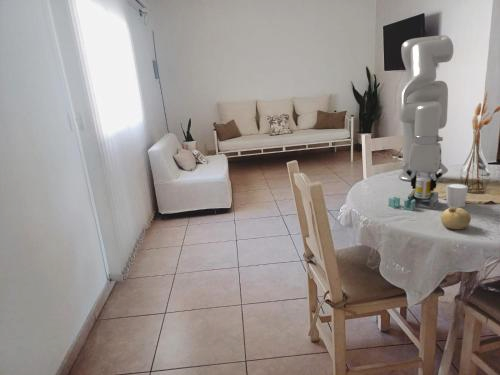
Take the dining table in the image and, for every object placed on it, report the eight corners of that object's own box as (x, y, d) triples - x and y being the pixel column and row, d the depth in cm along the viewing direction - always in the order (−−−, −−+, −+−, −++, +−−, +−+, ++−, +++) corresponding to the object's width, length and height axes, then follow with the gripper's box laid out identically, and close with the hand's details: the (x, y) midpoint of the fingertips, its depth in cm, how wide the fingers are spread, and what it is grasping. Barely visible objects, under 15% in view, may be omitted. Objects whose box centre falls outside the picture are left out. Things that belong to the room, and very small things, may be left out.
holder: (412, 198, 138) (413, 189, 136) (438, 201, 132) (439, 192, 131) (406, 206, 131) (406, 196, 130) (433, 209, 125) (434, 199, 124)
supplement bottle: (428, 195, 132) (431, 169, 130) (431, 199, 127) (434, 172, 125) (413, 194, 134) (415, 169, 131) (415, 198, 129) (417, 172, 126)
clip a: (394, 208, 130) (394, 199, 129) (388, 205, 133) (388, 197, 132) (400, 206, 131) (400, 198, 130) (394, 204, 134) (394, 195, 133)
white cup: (464, 201, 130) (465, 183, 128) (468, 208, 124) (470, 189, 122) (443, 201, 133) (444, 183, 131) (446, 207, 127) (447, 188, 125)
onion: (445, 220, 116) (446, 200, 114) (472, 225, 111) (474, 204, 109) (436, 229, 111) (438, 207, 109) (465, 234, 106) (467, 212, 104)
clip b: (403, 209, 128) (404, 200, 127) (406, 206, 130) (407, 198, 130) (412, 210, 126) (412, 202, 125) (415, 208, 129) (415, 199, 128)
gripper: (455, 138, 122) (451, 188, 127) (403, 137, 132) (401, 183, 138) (451, 142, 116) (447, 194, 122) (397, 141, 127) (395, 189, 132)
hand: (423, 188), depth 130 cm, fingers closed on supplement bottle, 5 cm apart
